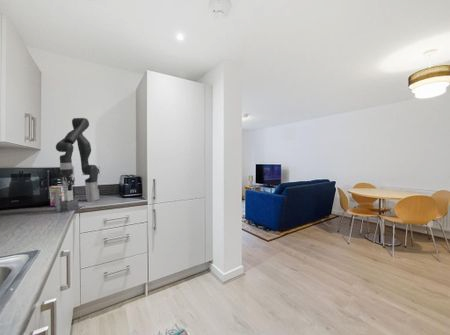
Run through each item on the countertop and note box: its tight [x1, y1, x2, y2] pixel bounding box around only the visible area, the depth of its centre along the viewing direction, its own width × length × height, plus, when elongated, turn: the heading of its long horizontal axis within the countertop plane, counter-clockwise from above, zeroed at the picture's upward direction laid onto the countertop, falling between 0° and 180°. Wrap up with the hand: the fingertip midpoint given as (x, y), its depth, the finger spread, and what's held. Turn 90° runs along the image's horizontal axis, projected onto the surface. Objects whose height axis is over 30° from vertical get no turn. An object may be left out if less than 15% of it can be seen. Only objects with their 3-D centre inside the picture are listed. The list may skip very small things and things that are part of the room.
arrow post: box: [54, 191, 62, 214], centre depth 146 cm, size 4×2×16 cm, turn 160°
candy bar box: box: [48, 185, 64, 207], centre depth 164 cm, size 11×5×16 cm, turn 84°
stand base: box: [53, 198, 86, 214], centre depth 153 cm, size 14×14×7 cm
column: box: [61, 181, 74, 201], centre depth 152 cm, size 5×4×16 cm
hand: (68, 190), depth 152 cm, fingers closed on column, 4 cm apart
